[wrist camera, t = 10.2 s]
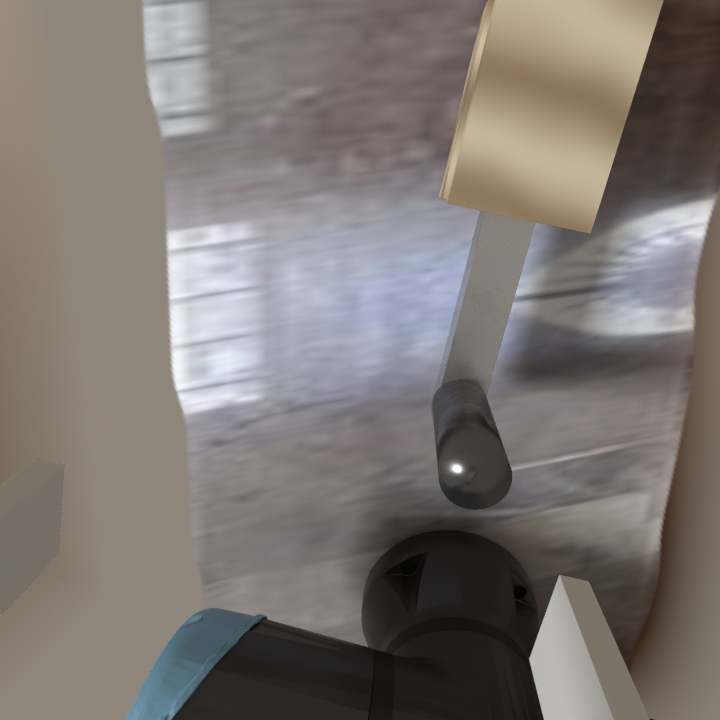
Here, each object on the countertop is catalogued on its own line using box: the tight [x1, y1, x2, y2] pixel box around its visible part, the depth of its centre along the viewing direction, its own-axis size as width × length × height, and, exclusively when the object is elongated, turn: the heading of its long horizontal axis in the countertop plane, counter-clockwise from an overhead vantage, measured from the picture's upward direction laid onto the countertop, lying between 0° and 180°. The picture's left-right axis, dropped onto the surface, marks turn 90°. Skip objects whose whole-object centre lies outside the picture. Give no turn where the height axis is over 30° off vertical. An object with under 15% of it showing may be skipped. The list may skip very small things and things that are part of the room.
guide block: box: [439, 0, 664, 234], centre depth 37 cm, size 12×8×11 cm, turn 168°
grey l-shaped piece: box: [431, 210, 535, 510], centre depth 33 cm, size 24×4×13 cm, turn 169°
